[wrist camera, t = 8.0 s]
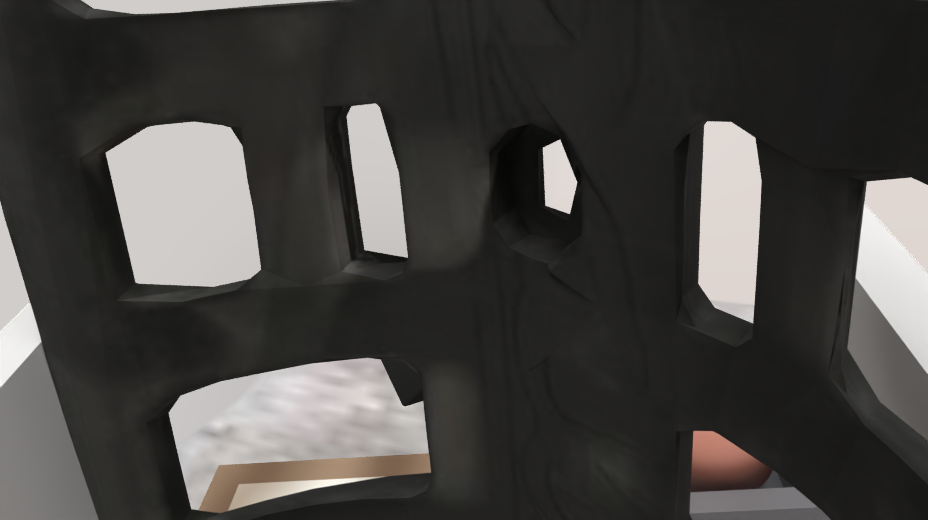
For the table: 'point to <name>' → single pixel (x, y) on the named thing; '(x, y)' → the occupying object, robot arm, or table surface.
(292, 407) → the table surface
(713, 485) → the button
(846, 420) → the holder
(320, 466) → the board
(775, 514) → the button housing
